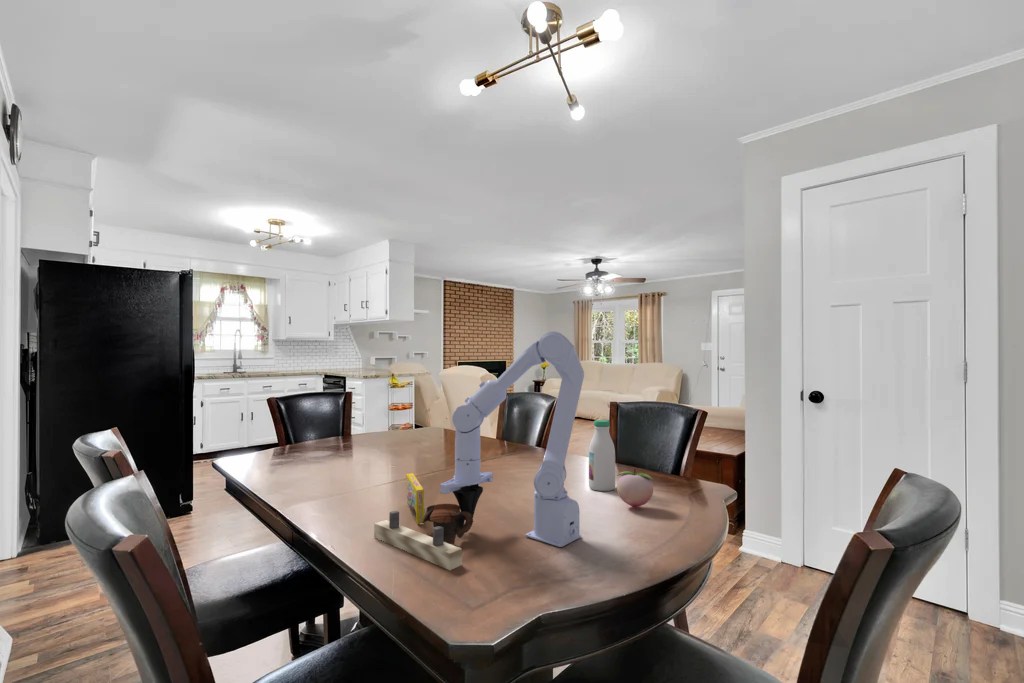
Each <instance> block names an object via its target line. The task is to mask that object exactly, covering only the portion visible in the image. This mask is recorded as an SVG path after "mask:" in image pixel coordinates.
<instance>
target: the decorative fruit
mask: <svg viewBox="0 0 1024 683" xmlns="http://www.w3.org/2000/svg"><path fill="white" fill-rule="evenodd" d="M633 470H634V472H632V471H629V470H627V471H620V472H619V473H618V474H617V475H616V476H619V478H618V480H617V482H616V483H617V484H616V490H617V494H618V496H619V498H620V499H621V500H622V502H624V503H625V504H626V505H628V506H631V507H632V508H634V509H636V508H638V507H642V506H644V505H646V504H647V503H649V502H650V500H651V499H652V497H653V494H654V485H653V482H655V481H654V478H652V477H651V476H650V475H649V474H647V473H643V472H637V473H636V468H634V469H633ZM652 481H653V482H652Z"/></svg>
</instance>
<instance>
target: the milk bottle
mask: <svg viewBox="0 0 1024 683" xmlns="http://www.w3.org/2000/svg"><path fill="white" fill-rule="evenodd" d="M610 424H611V423H610V421H609V420H607V419H595V420H594V421H593V427H594V432H593V436H592V438H591V440H590V443H589V449H588V487H589V489H591V490H593V491H598V492H611V491H614V490H615V489H616V450H615V444H614V442H613V439H612V437H611V434H610V426H611V425H610Z"/></svg>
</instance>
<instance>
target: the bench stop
mask: <svg viewBox="0 0 1024 683" xmlns="http://www.w3.org/2000/svg"><path fill="white" fill-rule="evenodd" d="M388 515H389V520H388V519H385V520H381V521H378V522H375V523H374V528H373V532H374V534H373V538H374V537H375V539H376V538H377V540H379V541H381V540H382V542H383V541H384V542H383V543H386V542H387V543H386V544H388V543H389V544H388V545H390V546H392V545H393V547H395V548H397V547H398V548H397V549H399V548H400V549H399V550H402V549H403V550H402V551H404V550H405V551H404V552H406V551H407V553H409V554H411V553H412V554H411V555H413V554H414V556H415V555H416V557H418V558H420V557H421V558H420V559H422V558H423V559H422V560H424V561H427V562H429V561H430V562H429V563H432V564H434V565H436V566H438V565H439V567H441V568H442V569H446V570H447V571H452V570H455V569H456V568H458V567H461V566H462V564H463V548H461V547H459V546H456V545H454V544H448V543H446V542H443V535H444V528H443V527H441V526H437V527H434V526H433V527H432V532H433V537H430V536H427V534H426V533H425V534H424V533H422V532H419V531H416V530H414V529H411V528H408V527H406V526H403V525H401V524H400V511H399V510H392V511H389V513H388Z"/></svg>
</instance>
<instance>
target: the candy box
mask: <svg viewBox="0 0 1024 683" xmlns="http://www.w3.org/2000/svg"><path fill="white" fill-rule="evenodd" d="M405 480H406V483H405V484H406V504H408V505H407V506H409V507H408V509H409V508H410V509H409V511H410V510H411V511H410V512H412V513H411V515H412V514H413V515H412V516H414V517H413V518H415V519H414V520H416V521H415V522H417V523H416V525H417V524H420V523H423V518H424V516H425V492H424V491H425V490H424V488H423V486H422V485H421V483H420V482H419V480H418V479H417V476H415V474H414V473H413V472H412V473H406V478H405Z"/></svg>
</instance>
